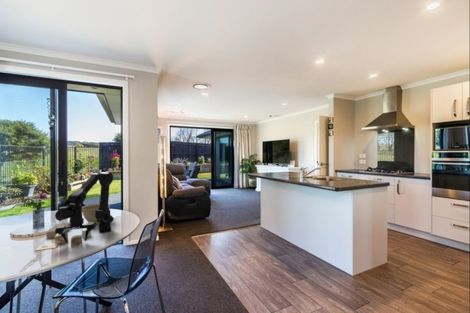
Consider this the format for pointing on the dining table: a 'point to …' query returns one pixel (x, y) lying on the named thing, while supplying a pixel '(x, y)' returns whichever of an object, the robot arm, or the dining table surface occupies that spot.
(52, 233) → the brown rock
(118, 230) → the dining table surface
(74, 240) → the walnut block
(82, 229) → the block
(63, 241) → the oak block
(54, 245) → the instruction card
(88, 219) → the tan bowl
